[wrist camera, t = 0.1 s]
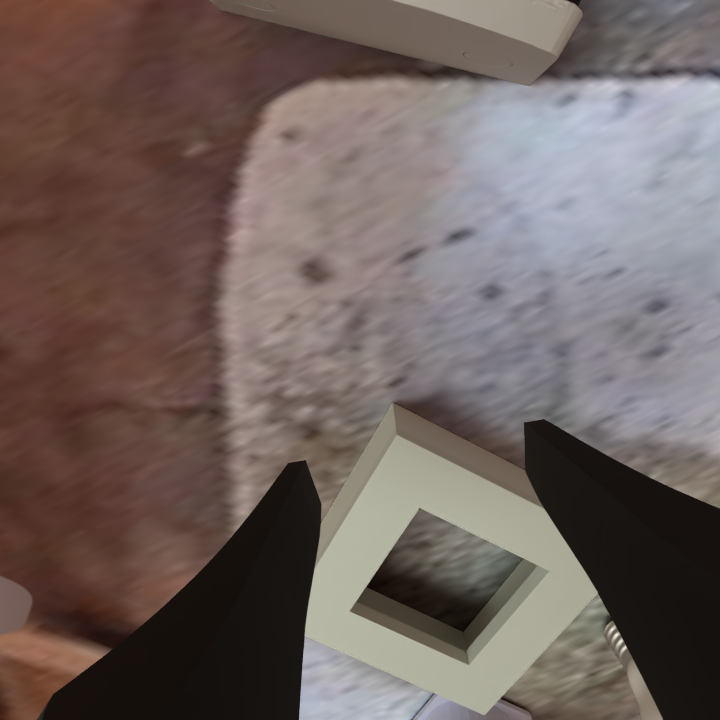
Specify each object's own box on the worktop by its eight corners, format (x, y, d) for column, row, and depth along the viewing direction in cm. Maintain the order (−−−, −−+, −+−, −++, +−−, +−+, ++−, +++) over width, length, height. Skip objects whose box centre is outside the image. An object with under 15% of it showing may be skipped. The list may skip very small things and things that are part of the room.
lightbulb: (647, 657, 26) (836, 924, 15) (565, 650, 26) (694, 907, 15) (671, 593, 24) (901, 841, 14) (583, 585, 25) (742, 824, 14)
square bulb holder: (466, 642, 26) (484, 715, 22) (296, 564, 25) (280, 625, 21) (584, 500, 23) (634, 554, 18) (392, 402, 22) (396, 434, 17)
